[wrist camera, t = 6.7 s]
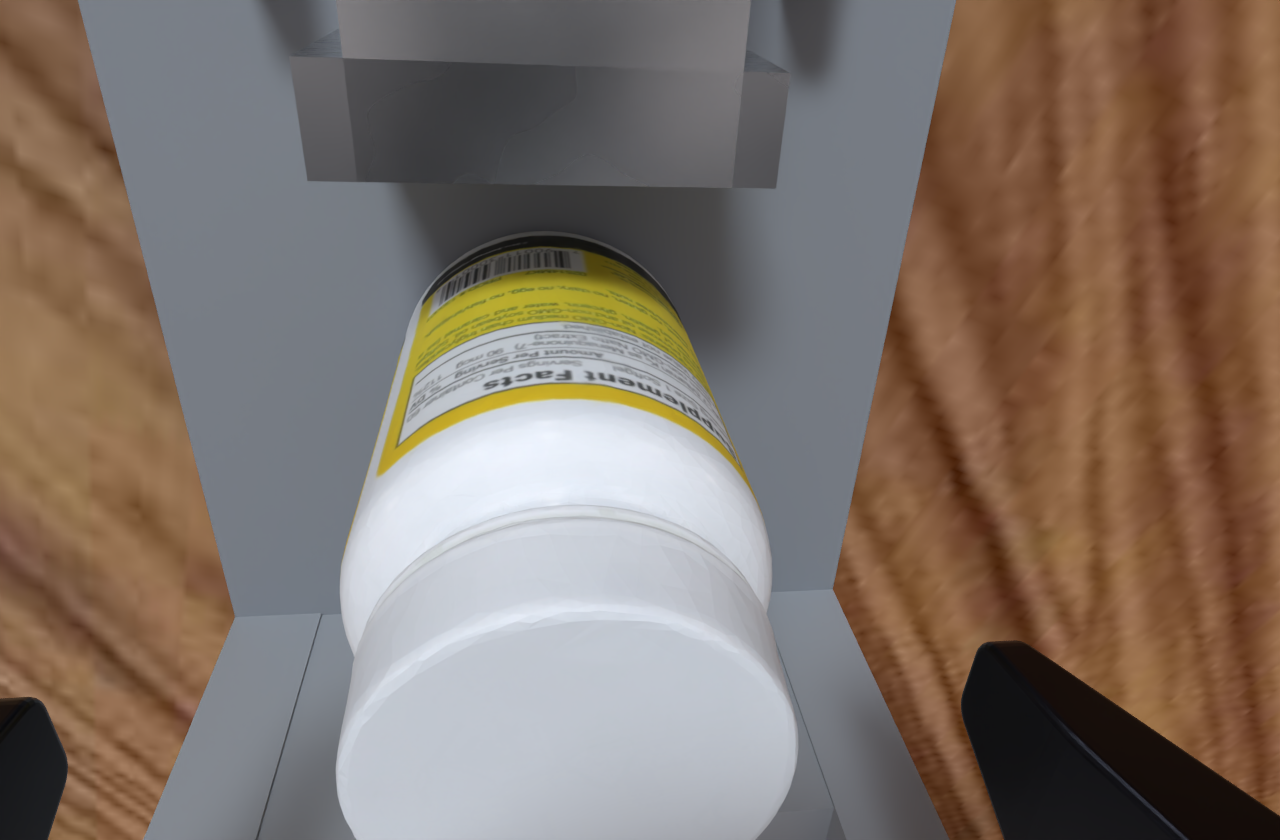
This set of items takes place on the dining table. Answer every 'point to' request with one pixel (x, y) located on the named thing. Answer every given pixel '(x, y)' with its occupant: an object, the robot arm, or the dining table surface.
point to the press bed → (375, 331)
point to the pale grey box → (541, 94)
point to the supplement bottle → (558, 573)
